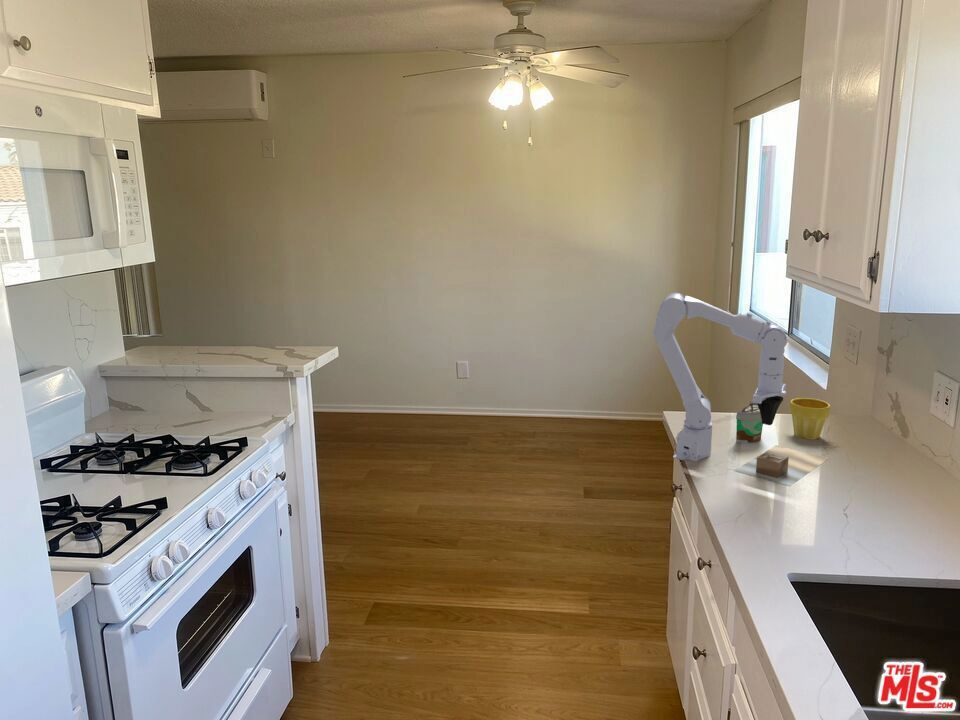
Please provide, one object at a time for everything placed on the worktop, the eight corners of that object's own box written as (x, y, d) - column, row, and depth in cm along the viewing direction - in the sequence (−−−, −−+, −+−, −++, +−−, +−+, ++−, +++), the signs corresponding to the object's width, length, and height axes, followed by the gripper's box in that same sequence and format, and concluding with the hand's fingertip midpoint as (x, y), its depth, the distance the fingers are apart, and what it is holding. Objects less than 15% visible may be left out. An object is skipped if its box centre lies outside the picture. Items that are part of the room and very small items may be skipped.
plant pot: (829, 433, 207) (832, 400, 205) (824, 444, 199) (827, 410, 196) (791, 427, 213) (793, 395, 210) (784, 438, 204) (787, 405, 202)
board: (789, 490, 170) (789, 486, 170) (733, 474, 180) (733, 470, 180) (829, 461, 186) (829, 458, 186) (775, 448, 196) (776, 445, 196)
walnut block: (777, 478, 174) (779, 462, 174) (755, 472, 178) (756, 456, 177) (787, 471, 178) (788, 456, 177) (765, 466, 182) (766, 450, 181)
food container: (757, 450, 195) (759, 415, 193) (734, 446, 199) (736, 411, 196) (770, 437, 205) (772, 404, 202) (748, 433, 208) (750, 400, 206)
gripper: (773, 381, 174) (770, 434, 177) (798, 369, 184) (794, 420, 187) (745, 376, 179) (742, 428, 182) (771, 365, 189) (768, 414, 192)
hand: (767, 423), depth 185 cm, fingers closed
